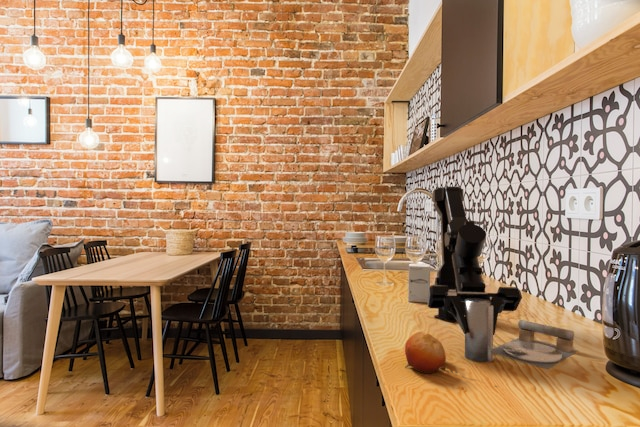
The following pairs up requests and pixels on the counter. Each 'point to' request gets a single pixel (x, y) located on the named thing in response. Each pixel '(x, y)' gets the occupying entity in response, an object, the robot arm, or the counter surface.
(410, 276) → the supplement box
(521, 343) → the flange disc
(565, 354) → the board
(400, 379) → the counter surface
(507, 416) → the counter surface
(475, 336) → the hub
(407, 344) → the fruit
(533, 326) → the bar handle
